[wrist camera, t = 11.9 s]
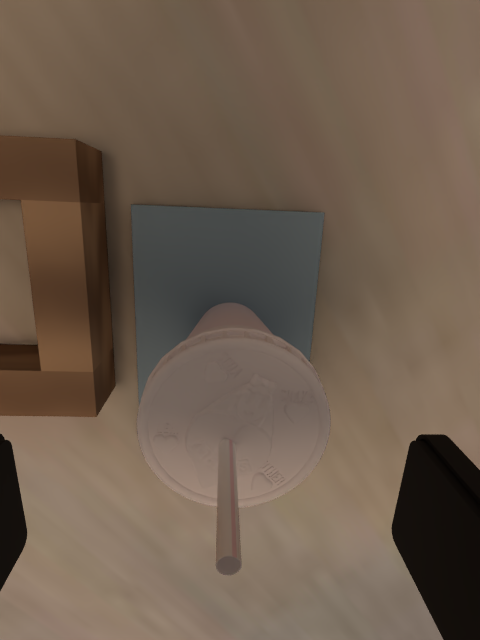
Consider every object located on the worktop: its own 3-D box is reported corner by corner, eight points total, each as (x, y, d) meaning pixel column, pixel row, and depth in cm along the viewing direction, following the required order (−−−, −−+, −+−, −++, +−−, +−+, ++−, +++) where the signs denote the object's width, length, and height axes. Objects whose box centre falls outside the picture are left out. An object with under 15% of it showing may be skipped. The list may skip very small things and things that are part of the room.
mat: (133, 204, 20) (130, 204, 19) (321, 212, 20) (324, 212, 20) (142, 436, 24) (140, 442, 23) (299, 438, 24) (301, 443, 24)
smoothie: (154, 356, 22) (40, 602, 8) (204, 257, 20) (166, 356, 7) (252, 401, 23) (294, 683, 9) (306, 310, 21) (451, 489, 8)
